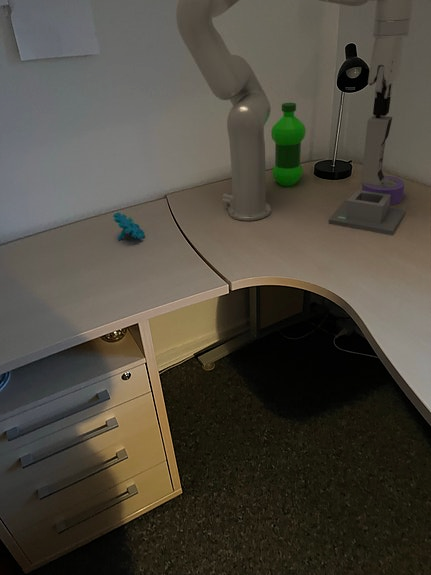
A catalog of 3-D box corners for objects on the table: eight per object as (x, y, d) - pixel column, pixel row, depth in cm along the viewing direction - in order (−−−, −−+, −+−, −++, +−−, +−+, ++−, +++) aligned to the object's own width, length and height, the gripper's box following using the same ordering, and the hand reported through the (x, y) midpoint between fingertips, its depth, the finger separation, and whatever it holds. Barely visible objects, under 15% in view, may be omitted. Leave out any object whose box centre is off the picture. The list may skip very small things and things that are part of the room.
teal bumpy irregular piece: (144, 240, 123) (113, 217, 120) (131, 256, 125) (100, 233, 122) (147, 227, 133) (119, 205, 130) (135, 242, 135) (106, 221, 132)
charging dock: (328, 223, 128) (330, 202, 125) (344, 204, 138) (346, 184, 134) (391, 235, 120) (395, 213, 117) (404, 213, 130) (408, 192, 127)
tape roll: (355, 202, 139) (357, 186, 136) (367, 188, 147) (369, 172, 144) (396, 208, 133) (399, 192, 131) (406, 193, 142) (409, 178, 139)
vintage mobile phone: (379, 186, 121) (393, 83, 107) (360, 183, 123) (371, 82, 109) (383, 181, 123) (397, 80, 109) (365, 179, 126) (376, 79, 112)
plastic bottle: (305, 178, 157) (309, 100, 143) (298, 190, 149) (301, 108, 135) (276, 176, 160) (277, 100, 146) (268, 187, 152) (268, 108, 138)
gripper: (383, 25, 110) (373, 106, 121) (364, 33, 100) (355, 121, 110) (416, 24, 107) (404, 107, 117) (400, 32, 96) (388, 123, 106)
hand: (380, 114), depth 113 cm, fingers closed on vintage mobile phone, 1 cm apart
